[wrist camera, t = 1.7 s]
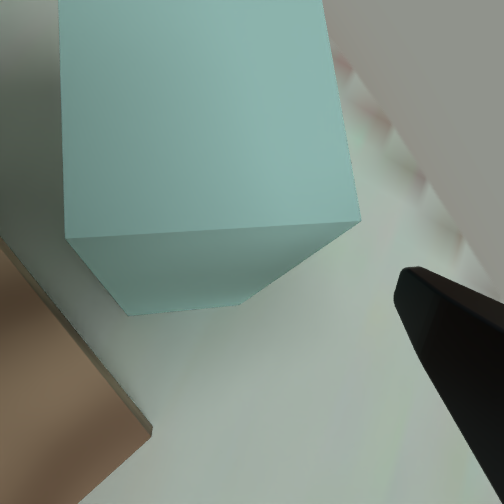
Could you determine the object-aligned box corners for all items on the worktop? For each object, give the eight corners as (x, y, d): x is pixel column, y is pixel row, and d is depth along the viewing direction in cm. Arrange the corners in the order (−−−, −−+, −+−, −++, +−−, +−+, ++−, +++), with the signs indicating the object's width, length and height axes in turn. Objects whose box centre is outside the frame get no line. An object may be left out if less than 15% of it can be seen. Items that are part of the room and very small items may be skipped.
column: (239, 304, 20) (361, 220, 8) (127, 316, 19) (64, 238, 7) (227, 203, 21) (319, -13, 9) (121, 208, 20) (57, -30, 8)
